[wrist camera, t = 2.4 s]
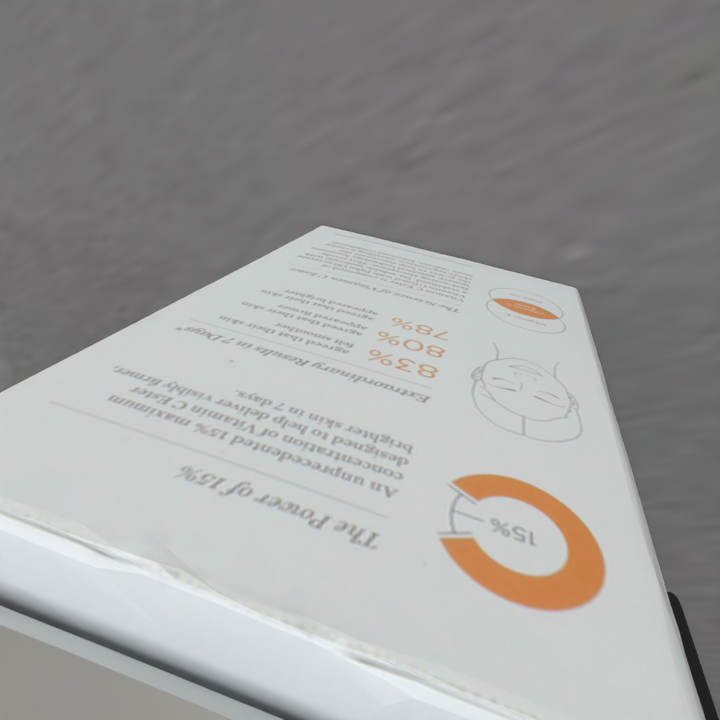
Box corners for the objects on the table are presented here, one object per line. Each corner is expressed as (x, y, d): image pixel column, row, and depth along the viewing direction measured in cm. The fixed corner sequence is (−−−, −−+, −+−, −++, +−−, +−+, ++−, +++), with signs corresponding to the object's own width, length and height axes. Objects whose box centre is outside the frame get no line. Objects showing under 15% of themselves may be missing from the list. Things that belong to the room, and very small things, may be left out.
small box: (296, 392, 19) (-46, 789, 8) (320, 220, 16) (-165, 448, 5) (517, 462, 18) (493, 1071, 6) (586, 286, 15) (770, 827, 3)
